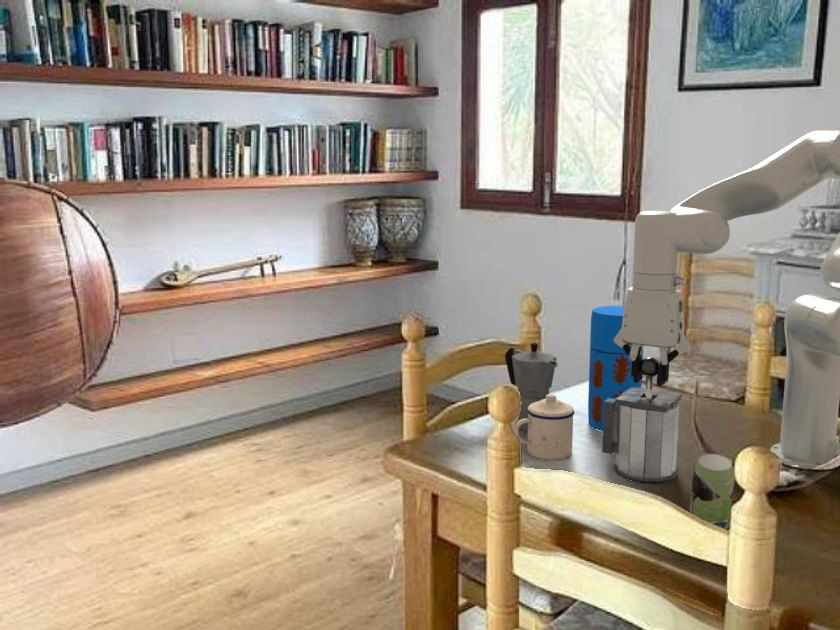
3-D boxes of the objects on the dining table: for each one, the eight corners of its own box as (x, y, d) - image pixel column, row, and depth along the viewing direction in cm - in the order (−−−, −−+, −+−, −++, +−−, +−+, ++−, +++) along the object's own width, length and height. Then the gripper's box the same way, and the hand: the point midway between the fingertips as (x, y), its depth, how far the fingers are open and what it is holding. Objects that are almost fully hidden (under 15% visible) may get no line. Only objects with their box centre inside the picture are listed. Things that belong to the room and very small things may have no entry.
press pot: (684, 467, 157) (688, 393, 154) (666, 488, 148) (670, 409, 145) (614, 454, 164) (617, 382, 161) (593, 473, 155) (595, 397, 152)
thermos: (644, 433, 175) (650, 315, 170) (592, 433, 175) (596, 316, 170) (632, 417, 186) (637, 305, 181) (583, 417, 186) (587, 305, 181)
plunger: (671, 448, 155) (676, 355, 152) (659, 460, 149) (664, 364, 146) (633, 441, 159) (637, 350, 156) (620, 452, 153) (624, 359, 150)
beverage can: (720, 519, 135) (725, 448, 133) (738, 540, 128) (744, 465, 126) (681, 519, 135) (685, 449, 133) (697, 541, 128) (702, 466, 126)
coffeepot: (570, 428, 179) (572, 345, 175) (538, 437, 174) (539, 352, 170) (520, 410, 191) (522, 332, 188) (489, 418, 186) (490, 338, 182)
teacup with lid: (561, 442, 171) (562, 386, 168) (581, 458, 162) (583, 399, 160) (505, 448, 168) (506, 391, 165) (522, 464, 159) (523, 405, 157)
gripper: (708, 282, 147) (701, 384, 150) (616, 275, 155) (612, 371, 159) (696, 289, 141) (690, 395, 144) (601, 281, 149) (597, 381, 153)
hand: (649, 381), depth 152 cm, fingers closed on plunger, 3 cm apart
